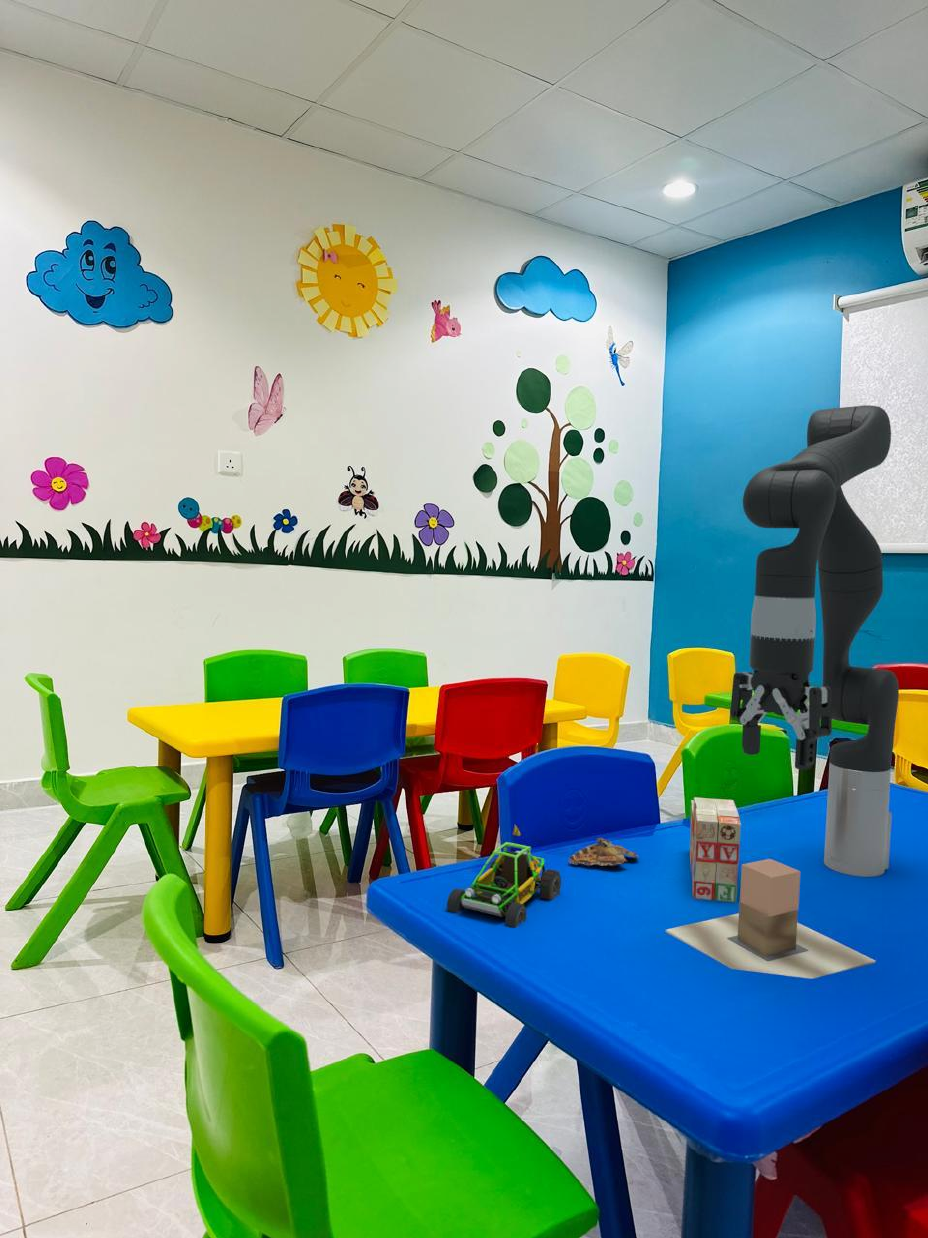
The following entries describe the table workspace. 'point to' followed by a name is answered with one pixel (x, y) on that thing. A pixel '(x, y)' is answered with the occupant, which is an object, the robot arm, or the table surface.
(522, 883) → the motor vehicle
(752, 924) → the walnut cube
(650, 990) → the table surface
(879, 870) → the robot arm
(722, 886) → the stack of blocks
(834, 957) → the cream flat pad
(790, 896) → the terracotta cube
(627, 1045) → the table surface
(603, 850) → the butterfly model
